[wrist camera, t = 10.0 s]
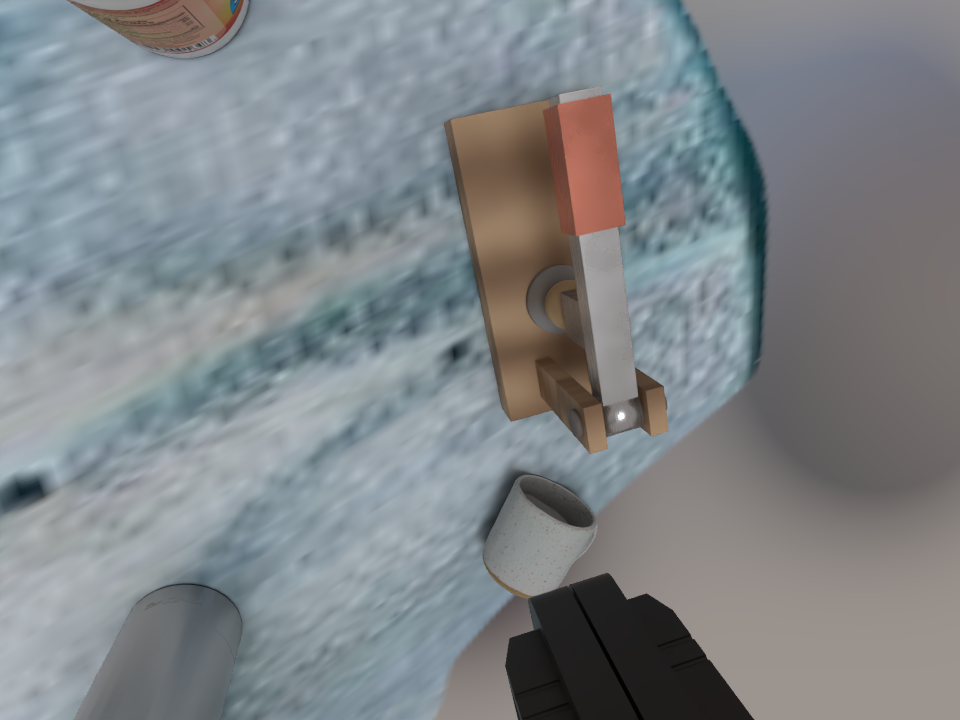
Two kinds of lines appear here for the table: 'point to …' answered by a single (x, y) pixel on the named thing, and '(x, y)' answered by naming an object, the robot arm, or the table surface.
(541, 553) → the ceramic mug
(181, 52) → the fruit juice
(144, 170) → the table surface
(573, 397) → the base
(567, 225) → the lever
